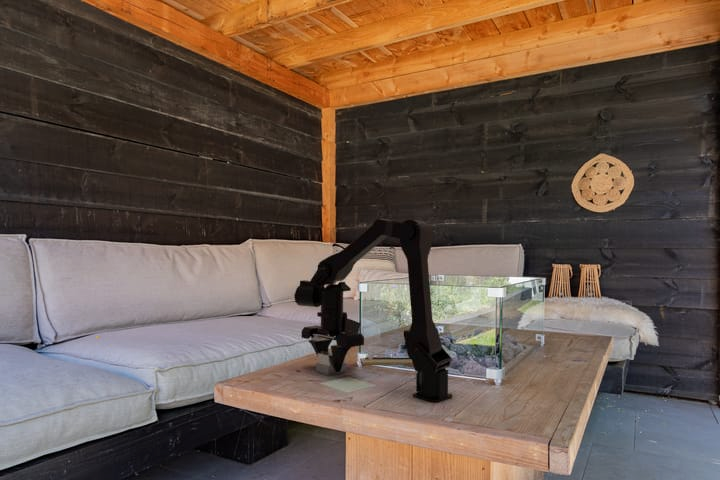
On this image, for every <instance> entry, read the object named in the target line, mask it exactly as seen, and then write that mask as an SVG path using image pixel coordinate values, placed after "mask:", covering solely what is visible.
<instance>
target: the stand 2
mask: <svg viewBox="0 0 720 480" xmlns="http://www.w3.org/2000/svg"><path fill="white" fill-rule="evenodd" d="M319 385H322V386H324V387H325V386H326V387H329V388H332V389H335V390H337V391H340V392H343V393H346V394H349V393H354V392H358V391H361V390H362V391H363V390H366V389H370V388H372V387H377V386H378V385H377V384H374V383H370V382H367V381H364V380H360V379H356V378H353V377H350V376H345V377H341V378H336V379H332V380H329V381H325V382H320V383H319Z"/></svg>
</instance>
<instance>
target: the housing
mask: <svg viewBox="0 0 720 480" xmlns="http://www.w3.org/2000/svg"><path fill="white" fill-rule="evenodd" d="M315 370H316V373H318V374H322V375H325V376H328V377H329V376H333V375H338V374H343V373H347V371H348V367H347V362H346V358H345V359H344V362H343V365H342V368H341V371H340V372H336V370H335V366H334V361H333V355H332V350H328V351H327V352H325V351H321V353H318V356H317V362H316V363H315Z"/></svg>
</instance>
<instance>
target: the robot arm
mask: <svg viewBox="0 0 720 480" xmlns="http://www.w3.org/2000/svg"><path fill="white" fill-rule="evenodd" d="M387 237H389V238H394V239H398V240H399V245H400V248H401V250H402V252H403V255H404V257H405V258H406V262H407V263H406V264H407V273H408V277H407V278H408V287H409V288H408V289H409V300H410V311H411V312H410V313H411V315H410V316H411V325H410V328H409V329H405V330H404V331H403V337H404V348H403V349H404V350H406V354H407V356H408V357H409V358H411V359H412V362H413V365H414V368H413V369H414V371H415V372H417V373H416V374H415V376H416V377H415V379H416V380H415V382H416V383H415V385H416V386H415V387H416V388H415V391H416V392H414V393H412V397H415V398H417V399H422V400H426V401H428V402H432V403H438V402H440V401H444V400H447V399H450V398H452V397H453V394H452V393H449V370H448V369H446V368H448V367H450V365H451V363H452V360H453V359H452V358H453V357H451V356H450V354H449V353H448V352H447V351H446V349H445V348H444V347H443V345H442V342H441V337H440V333H439V330H438V329H437V326H436V325H435V322H434V319H433V308H432V297H431V286H430V285H431V284H430V274H429V261H428V260H429V259H428V258H429V256H430V251H431V249H432V245H433V244H432V241H433V228H432V226H431V225H429V224H428V222H426V221H423V220H416V219H406V220H404V221H402V222H400V221H399V222H398V221H393V220H391V219H384V218H378V219H376V220H374V222H373V223H372V225H370V226H369V227H368V228H367V229H366V230H364V231H363V232H362V233H360V235H359V236H357V237H356V238H355V239H354V240H353V241H352V242H350V243H349V244H348V245H346V247H345V248H343V249H342V250H340V251H339V252H337V253H335V254H332V255H329V256H328V257H326V258H324V259H322V260H320V261H319V263H318V265H317V269H316V270H315V272H314V275H313V276H312V278H311V279H310V280H300V281H299V285H298V286H297V287H296V290H295V293H294V295H293V296H294V302H295V303H296V304H297V306H300V307H309V308H310V307H312V308H318V307H320V311H317V314H316V315H317V317H318V318H319V317H320V325H311V326H304V327H303V328H302V329H301V338H302V339H307V340H308V343H309V344H310V345H311V348H312V349H313V350H314V352H315V354H316V356H317V357H318V353H321V351H325V352H327V351H329V347H330V351H332V355H333V361H334V366H335V370H336V372H340V371H341V368H342V365H343V362H344V359H345V360H346V356H347V354H348V352H349V350H350V349H352V348H355V347H361V346H364V345H365V336H364V335H363V334H362V333H360V330H361V329H360V328H361V325H362V323H361V322H359V321H356V320H353V319H351V318H348V313H347V312H345V311H344V292H350V291H351V290H352V288H351V287H350V286H349V285H348V284H346V281H344V280H346V278H347V277H348V275H350V274H351V272H352V270H353V268H354V266H355V265H356V263H357V262H358V261H359V260H361V259H362V258H363V257H364V256H366V255H367V254H368V253H369V252H371V251H372V250H373V249H374V248H376V246H378V245H379V244H380V243H382V242H383V241H384V240H386V238H387ZM337 282H338V283H337ZM335 283H337V284H335ZM332 341H335V342H336V344H333V345H331V343H332Z"/></svg>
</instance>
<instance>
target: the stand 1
mask: <svg viewBox="0 0 720 480" xmlns="http://www.w3.org/2000/svg"><path fill="white" fill-rule="evenodd" d="M306 373H307V374H310V375H313V376H316V377H320V378H322V379H325V380H326V379H327V380H329V381H333V380H337V379H341V378H346V377H350V376H353V375H358V373H357V372H353V371H349V370H347V373H343V374H338V375H333V376H329V377H328V376H325V375H322V374H318V373H316V369H314V370H312V369H311V370H308V371H306Z"/></svg>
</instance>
